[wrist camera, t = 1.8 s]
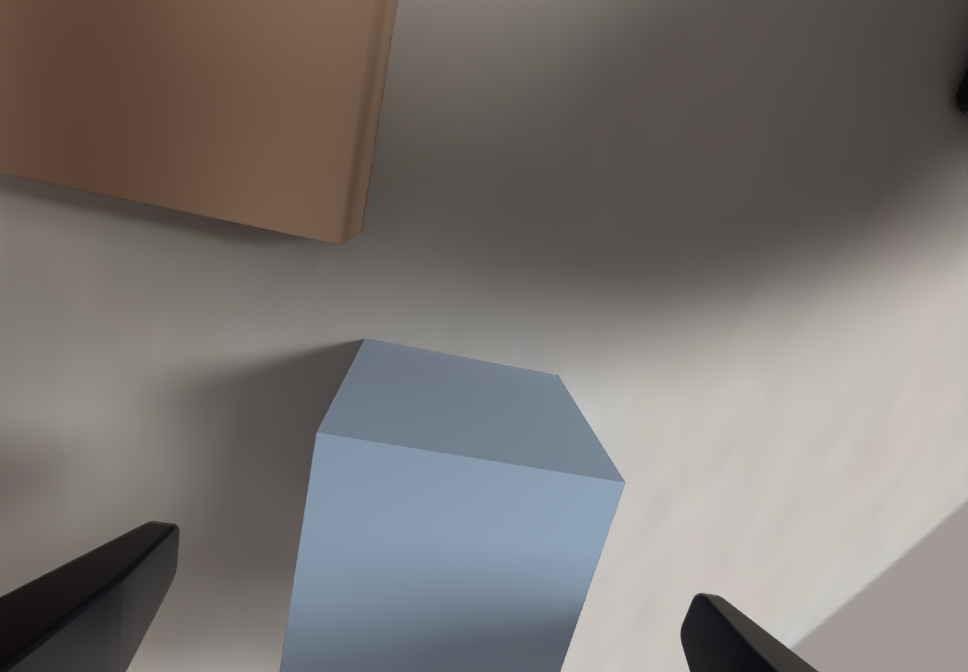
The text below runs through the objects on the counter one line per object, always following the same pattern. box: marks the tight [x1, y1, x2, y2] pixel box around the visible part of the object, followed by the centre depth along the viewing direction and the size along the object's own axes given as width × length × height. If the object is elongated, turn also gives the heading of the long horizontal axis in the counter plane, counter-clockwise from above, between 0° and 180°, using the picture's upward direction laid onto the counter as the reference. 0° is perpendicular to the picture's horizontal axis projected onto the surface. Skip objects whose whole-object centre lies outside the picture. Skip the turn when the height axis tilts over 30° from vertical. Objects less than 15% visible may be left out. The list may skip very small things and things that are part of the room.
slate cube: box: [280, 339, 625, 672], centre depth 11 cm, size 5×5×5 cm
